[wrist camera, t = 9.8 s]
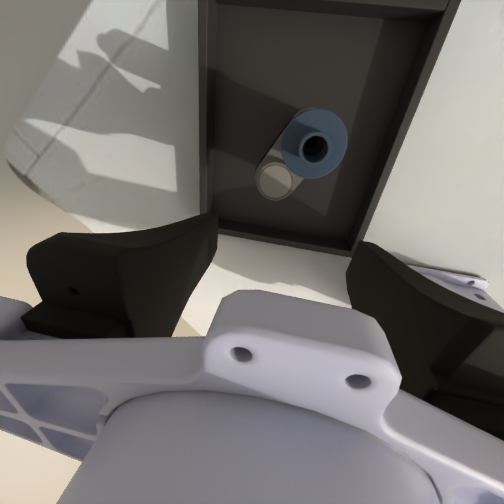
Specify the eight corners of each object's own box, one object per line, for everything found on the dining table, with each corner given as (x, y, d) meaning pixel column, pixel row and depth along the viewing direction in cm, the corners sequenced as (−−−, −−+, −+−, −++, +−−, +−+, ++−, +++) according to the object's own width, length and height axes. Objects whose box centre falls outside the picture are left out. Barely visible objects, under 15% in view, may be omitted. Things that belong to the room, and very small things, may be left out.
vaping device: (330, 125, 17) (374, 142, 7) (284, 181, 20) (269, 251, 10) (304, 101, 17) (313, 83, 7) (260, 161, 20) (219, 213, 9)
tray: (438, 13, 14) (463, -5, 12) (350, 244, 23) (355, 258, 20) (211, -7, 15) (197, -26, 13) (208, 220, 24) (199, 230, 22)
